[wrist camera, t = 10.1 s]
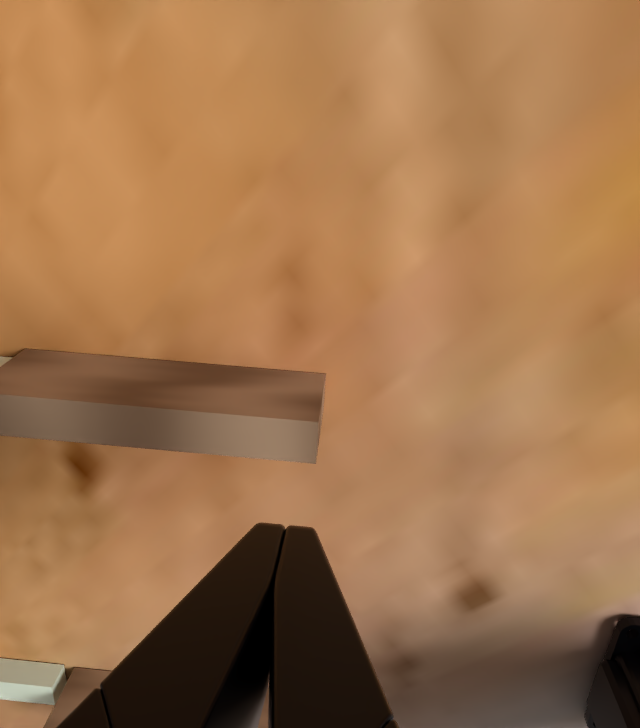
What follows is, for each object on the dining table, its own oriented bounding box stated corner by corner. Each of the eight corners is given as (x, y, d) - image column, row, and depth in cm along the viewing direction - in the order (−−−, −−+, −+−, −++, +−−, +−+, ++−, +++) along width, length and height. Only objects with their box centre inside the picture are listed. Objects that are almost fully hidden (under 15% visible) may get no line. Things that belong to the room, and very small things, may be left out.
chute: (325, 373, 21) (318, 422, 18) (302, 713, 29) (294, 790, 26) (24, 348, 22) (-34, 391, 19) (77, 689, 29) (42, 761, 26)
